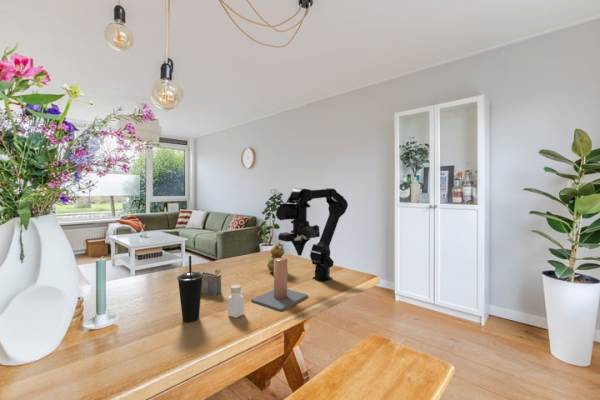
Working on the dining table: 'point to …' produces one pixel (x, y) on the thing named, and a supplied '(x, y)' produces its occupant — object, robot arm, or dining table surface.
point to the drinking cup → (190, 294)
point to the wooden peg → (280, 278)
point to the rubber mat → (279, 300)
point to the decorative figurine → (275, 255)
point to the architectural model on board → (211, 283)
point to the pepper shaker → (235, 302)
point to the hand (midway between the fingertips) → (299, 255)
